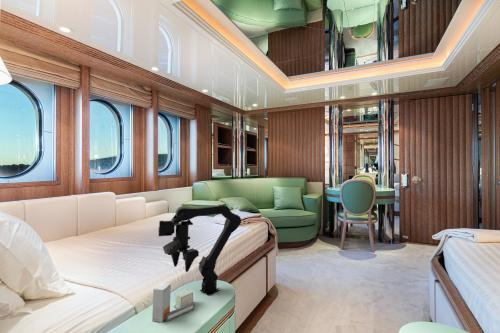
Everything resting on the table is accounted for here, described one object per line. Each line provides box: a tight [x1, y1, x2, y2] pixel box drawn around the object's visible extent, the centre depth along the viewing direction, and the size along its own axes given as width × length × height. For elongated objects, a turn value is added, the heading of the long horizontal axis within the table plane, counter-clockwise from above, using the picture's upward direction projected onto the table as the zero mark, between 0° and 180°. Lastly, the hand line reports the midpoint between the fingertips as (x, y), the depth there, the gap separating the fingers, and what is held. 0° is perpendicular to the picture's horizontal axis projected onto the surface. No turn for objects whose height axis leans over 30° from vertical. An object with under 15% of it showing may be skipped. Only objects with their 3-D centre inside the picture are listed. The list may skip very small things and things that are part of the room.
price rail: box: [164, 302, 195, 322], centre depth 101 cm, size 12×1×2 cm, turn 138°
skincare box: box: [151, 282, 172, 323], centre depth 99 cm, size 6×4×12 cm
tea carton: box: [174, 289, 194, 308], centre depth 108 cm, size 4×6×5 cm
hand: (181, 269), depth 117 cm, fingers open, 9 cm apart
